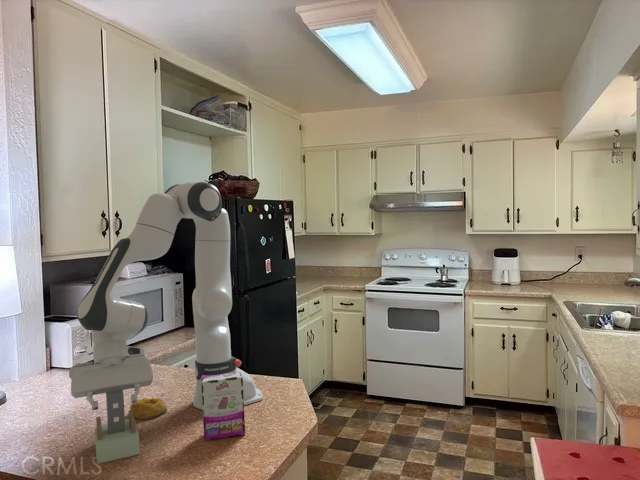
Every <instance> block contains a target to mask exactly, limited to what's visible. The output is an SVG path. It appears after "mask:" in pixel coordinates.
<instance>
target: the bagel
mask: <svg viewBox="0 0 640 480" xmlns="http://www.w3.org/2000/svg"><path fill="white" fill-rule="evenodd" d="M167 405H168V404H167V403H166V402H165V401H164V399H161V398H155V397H154V398H153V397H152V398H148V397H147V398H141V399H137V402H136V403H131V405H130V407H129V411H131V410H132V411H133V414H134V417H135V419H137V420H148V419H153V418H156V416H157V417H158V416H160V415H163V414H165V413H167V412H168V406H167Z"/></svg>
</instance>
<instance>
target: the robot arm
mask: <svg viewBox="0 0 640 480" xmlns="http://www.w3.org/2000/svg"><path fill="white" fill-rule="evenodd" d="M222 202H223V201H222V195H221V193H220V191H219V189H218V188H217V187H216V186H215V185H213V184H212V183H208V182H205V181H201V182H200V181H199V182H196V181H191V182H189V181H188V182H185V183H181V184H175V185H171V186H170V187H169V188H167V189H166V190H165V192H157V193H153V194H151V195H149V196H148V198H147V199H146V202H145V203H144V205H143V207H142V209H141V211H140V213H139V215H138V217H137V221H136V224H135V226H134V228H133V230H132V231H131V233H130V234H129V235H127V237H126V238H122V239H119V240H118V241H117V243H116V244H115V246H114V247H113V248H112V250H111V251H110V253H109V255H108V256H107V258H106V260H105V262H104V263H103V266H102V267H101V269H100V270H99V272H98V275H97V276H96V278H95V280H94V282H93V283H92V286H91V287H90V288H89V291H88V292H87V293H86V294H85V295H84V297H83V298H82V300H81V302H80V303H79V305H78V308H77V312H76V317H77V320H78V321H79V323H80V325H81V326H82V327H83V329H85V330H86V331H91V339H92V340H91V341H92V342H93V349H92V355H93V356H92V357H93V361H86V362H82V363H81V362H78V363H74V365H72V366H71V367H70V368H69V370H68V377H69V378H70V379H71V383H70V394H71V396H72V397H73V398H74V399H80V398H85V397H86V400H87V402H88V403H89V404H90V405H91V411H97V410H99V401H98V400H94V398H93V397H94V396H97V395H102V394H106V392H110V391H116V390H123V391H124V390H131V389H133V390H134V393H133V394H130V403H131V404H132V403H136V402H137V401H138V395H139V394H140V391H141V388H142V387H149V386H150V385H152V383H153V381H154V375H153V374H154V373H153V369H152V365H151V363H150V360H149V358H148V357H147V356H146V353H145V352H146V351H145V348H143V347H137V346H130V345H127V341H128V340H132V339H133V338H135V337H136V336H138V335H139V334H140V333H142V332H143V331H144V330H145V329H146V328H147V325H148V321H149V320H148V319H149V315H148V309H147V308H146V306H145V304H144V303H141V302H138V301H134V300H130V299H126V298H121V297H118V296H117V297H116V296H113V295H111V294H112V293H111V292H112V291H113V289H114V287H115V286H116V283H117V282H118V280H119V278H120V276H121V274H122V272H123V270H124V269H125V268H126V267H127V266H129V265H130V264H131V263H136V262H140V261H151V260H156V259H159V258H161V257H163V256H164V255H166V254H167V253H168V252H169V249H170V248H171V246H172V243H173V240H174V238H175V233H176V230H177V226H178V224H179V223H180V221H181V220H182V219H190V220H191V219H192V220H193V223H194V224H195V225H194V226H195V242H194V244H195V245H194V246H195V248H194V267H195V268H194V269H195V271H194V272H195V288H194V289H193V292H192V296H191V301H192V315H193V325H194V336H195V337H194V339H195V357H196V358H195V361H194V375H195V380H196V381H195V392H194V397H193V401H192V406H193V407H194V408H197V409H199V410H203V407H202V388H201V377H206V376H214V375H221V374H229V373H237V372H241V375H242V378H243V398H244V406H247V405H249V404H253V403H256V402H260V401H262V400H263V398H264V395H263V392H262V391H261V390H260V388H258V387H256V383H255V381H254V379H253V377H252V376H251V375H250V374H249V373H247V372H246V371H244V370H242V369H240V368H239V367H241V365H242V361H241V360H240V359H238V358H236V357H234V356H232V349H231V345H232V344H231V332H230V326H229V320H228V319H229V318H228V317H229V314H230V313H231V311H232V307H233V292H232V275H231V224H230V218H229V213H228V211H227V209H225V208H223V203H222Z"/></svg>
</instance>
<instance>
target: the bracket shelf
mask: <svg viewBox="0 0 640 480" xmlns="http://www.w3.org/2000/svg"><path fill="white" fill-rule="evenodd" d="M95 420H96V422H95V423H96V425H94V440H95V441H94V443H95V458H96V464H97V465H99V464H103V463H106V462H111V461H116V460H120V459H125V458H128V457H129V458H130V457H132V456H137V455H141V453H140V451H141V450H140V448H141V447H140V435H139V434H140V433H139V431H138V427H137V422H136V418H135V417H134V414H133V411H132V410H131V411H130V410H128V418H126V419H125V431H124V432H119V433H114V434H108V424H107V423H102V419H101V416H96V419H95Z"/></svg>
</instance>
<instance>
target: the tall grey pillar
mask: <svg viewBox="0 0 640 480" xmlns="http://www.w3.org/2000/svg"><path fill="white" fill-rule="evenodd" d="M105 399H106V400H105V402H106V403H105V404H106V418H107V419H106V422H107V424H108V434H114V433H119V432H124V431H125V420H126V418H125V397H124V390H116V391H110V392H106V393H105Z"/></svg>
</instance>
